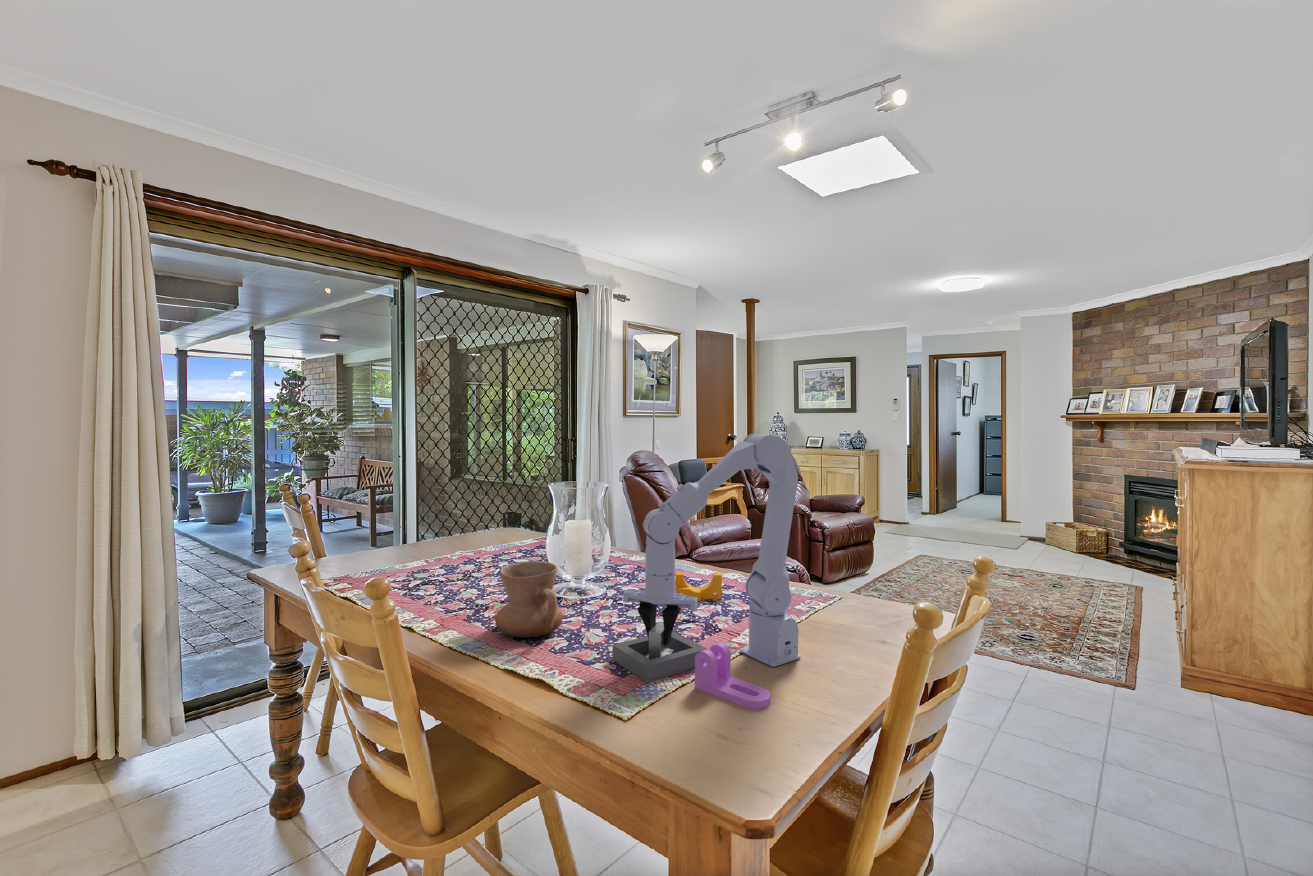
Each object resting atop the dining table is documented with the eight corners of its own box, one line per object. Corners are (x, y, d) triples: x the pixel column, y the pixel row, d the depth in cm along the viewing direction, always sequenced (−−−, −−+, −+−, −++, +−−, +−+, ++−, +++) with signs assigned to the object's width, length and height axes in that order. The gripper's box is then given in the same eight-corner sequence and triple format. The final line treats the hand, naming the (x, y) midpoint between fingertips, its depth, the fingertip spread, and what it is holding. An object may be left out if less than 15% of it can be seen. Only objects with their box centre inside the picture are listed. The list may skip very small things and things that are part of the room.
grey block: (674, 653, 117) (674, 623, 117) (664, 665, 111) (664, 634, 111) (654, 651, 118) (655, 621, 118) (644, 662, 112) (644, 631, 112)
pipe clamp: (675, 601, 153) (675, 576, 152) (675, 596, 157) (675, 572, 157) (722, 602, 152) (722, 577, 152) (720, 596, 157) (720, 572, 157)
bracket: (694, 688, 104) (695, 649, 104) (713, 678, 108) (713, 640, 108) (759, 713, 95) (759, 670, 95) (776, 700, 99) (777, 660, 99)
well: (707, 664, 114) (707, 648, 113) (647, 682, 106) (647, 666, 105) (670, 644, 123) (670, 630, 123) (612, 659, 115) (612, 644, 115)
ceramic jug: (481, 628, 132) (480, 565, 131) (538, 613, 142) (538, 554, 141) (521, 654, 119) (521, 584, 118) (581, 636, 128) (581, 571, 127)
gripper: (702, 570, 115) (701, 639, 116) (632, 564, 120) (632, 630, 120) (692, 580, 109) (691, 653, 109) (619, 572, 113) (618, 642, 114)
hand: (659, 642), depth 114 cm, fingers closed on grey block, 2 cm apart
